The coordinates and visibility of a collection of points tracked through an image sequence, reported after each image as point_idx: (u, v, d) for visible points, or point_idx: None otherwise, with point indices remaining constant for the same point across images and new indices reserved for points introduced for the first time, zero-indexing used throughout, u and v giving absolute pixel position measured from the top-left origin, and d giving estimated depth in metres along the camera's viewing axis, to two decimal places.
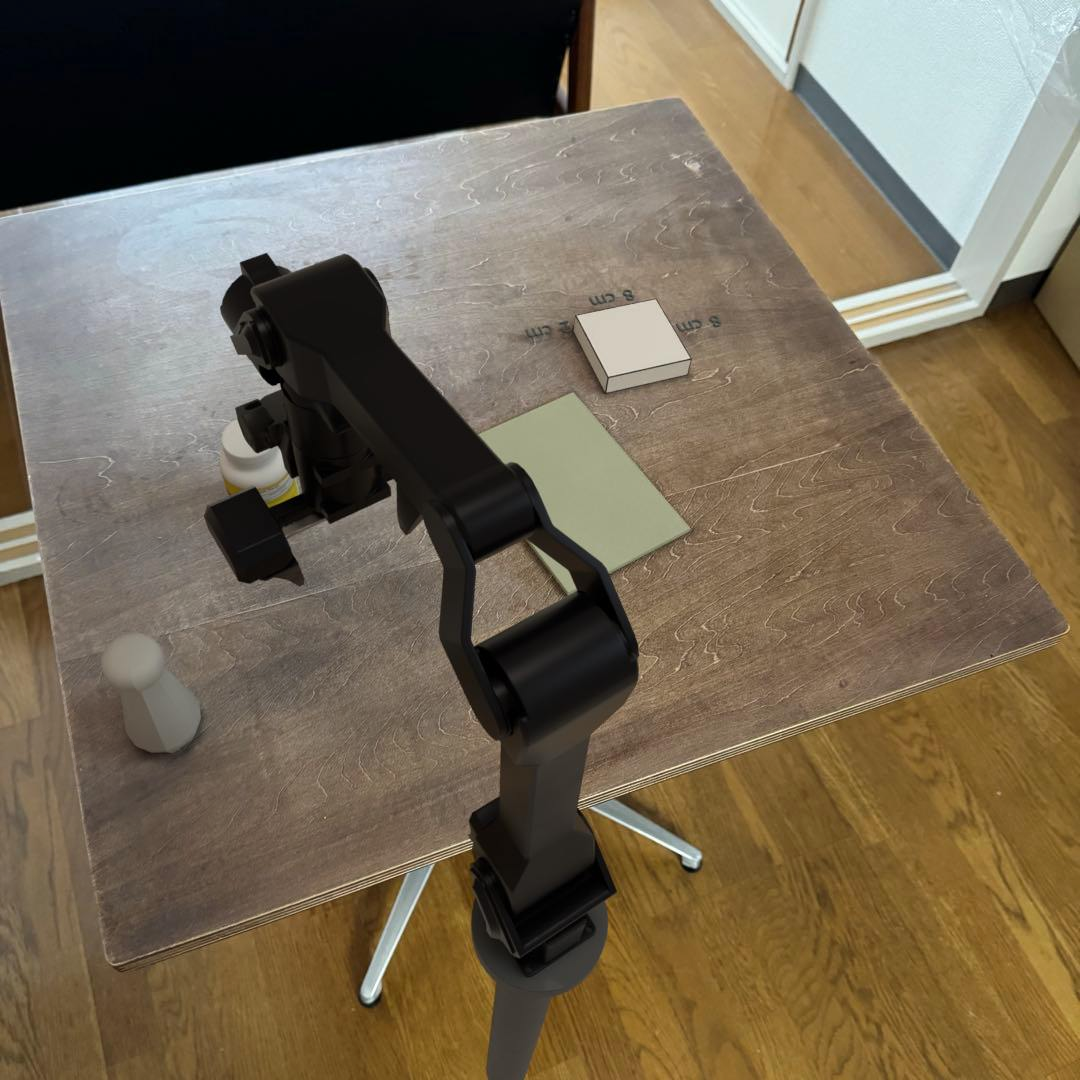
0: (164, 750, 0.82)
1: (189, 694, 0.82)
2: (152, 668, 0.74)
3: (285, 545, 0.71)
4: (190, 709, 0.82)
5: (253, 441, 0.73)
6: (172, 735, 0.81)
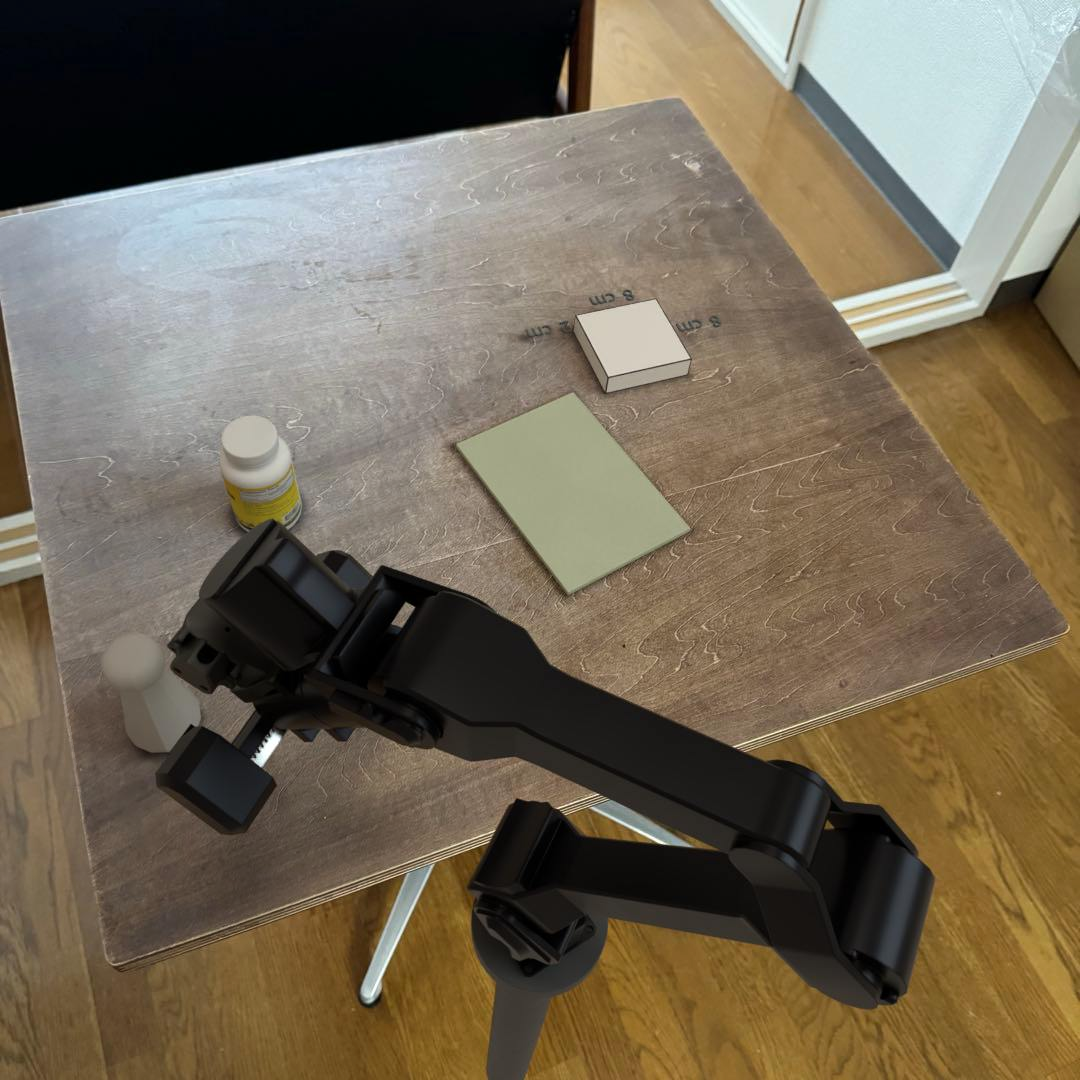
0: (164, 750, 0.82)
1: (189, 694, 0.82)
2: (152, 668, 0.74)
3: (273, 787, 0.64)
4: (190, 709, 0.82)
5: (212, 690, 0.60)
6: (172, 735, 0.81)
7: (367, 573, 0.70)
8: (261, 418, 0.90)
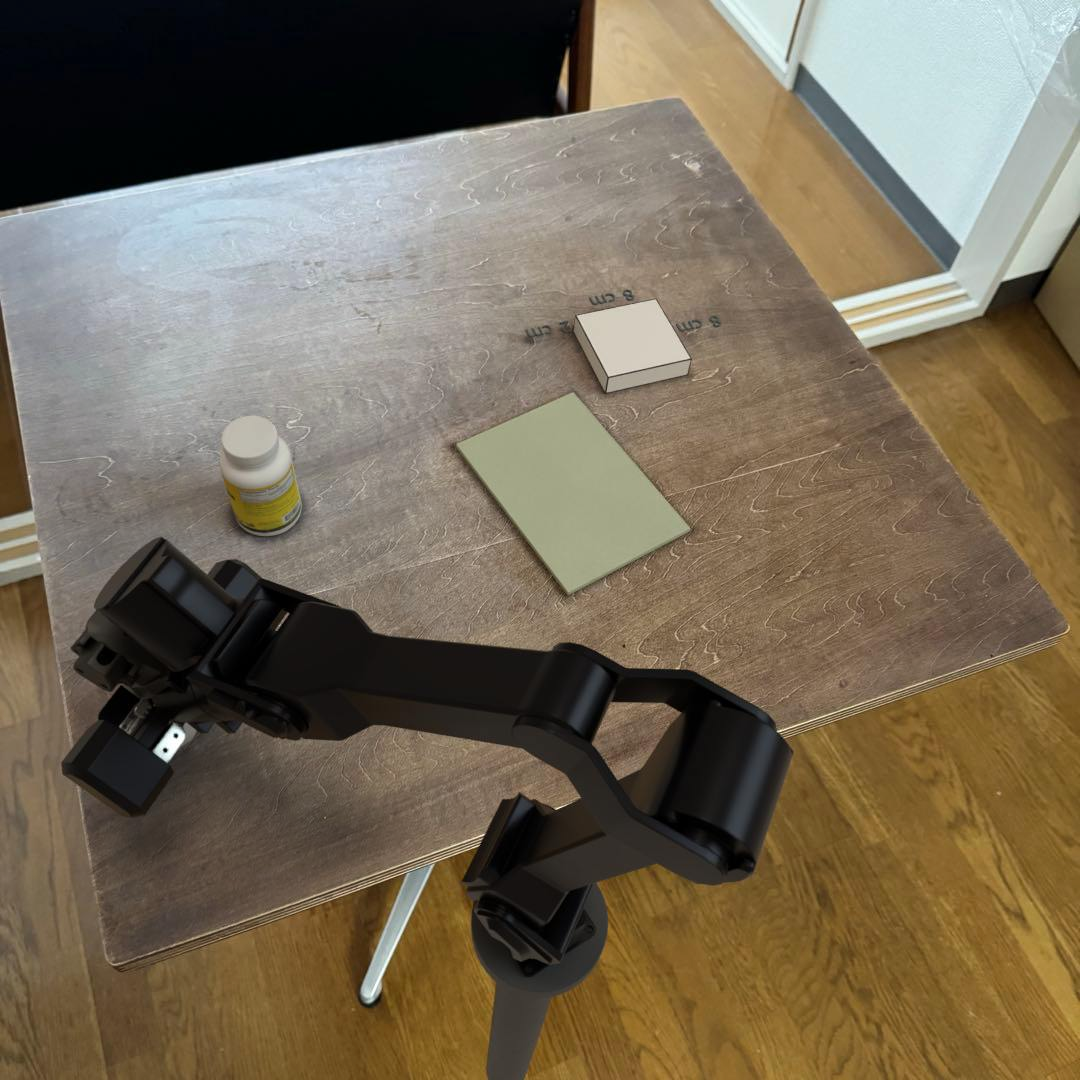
0: None
1: None
2: None
3: (171, 774, 0.71)
4: None
5: (111, 688, 0.67)
6: None
7: None
8: (261, 418, 0.90)
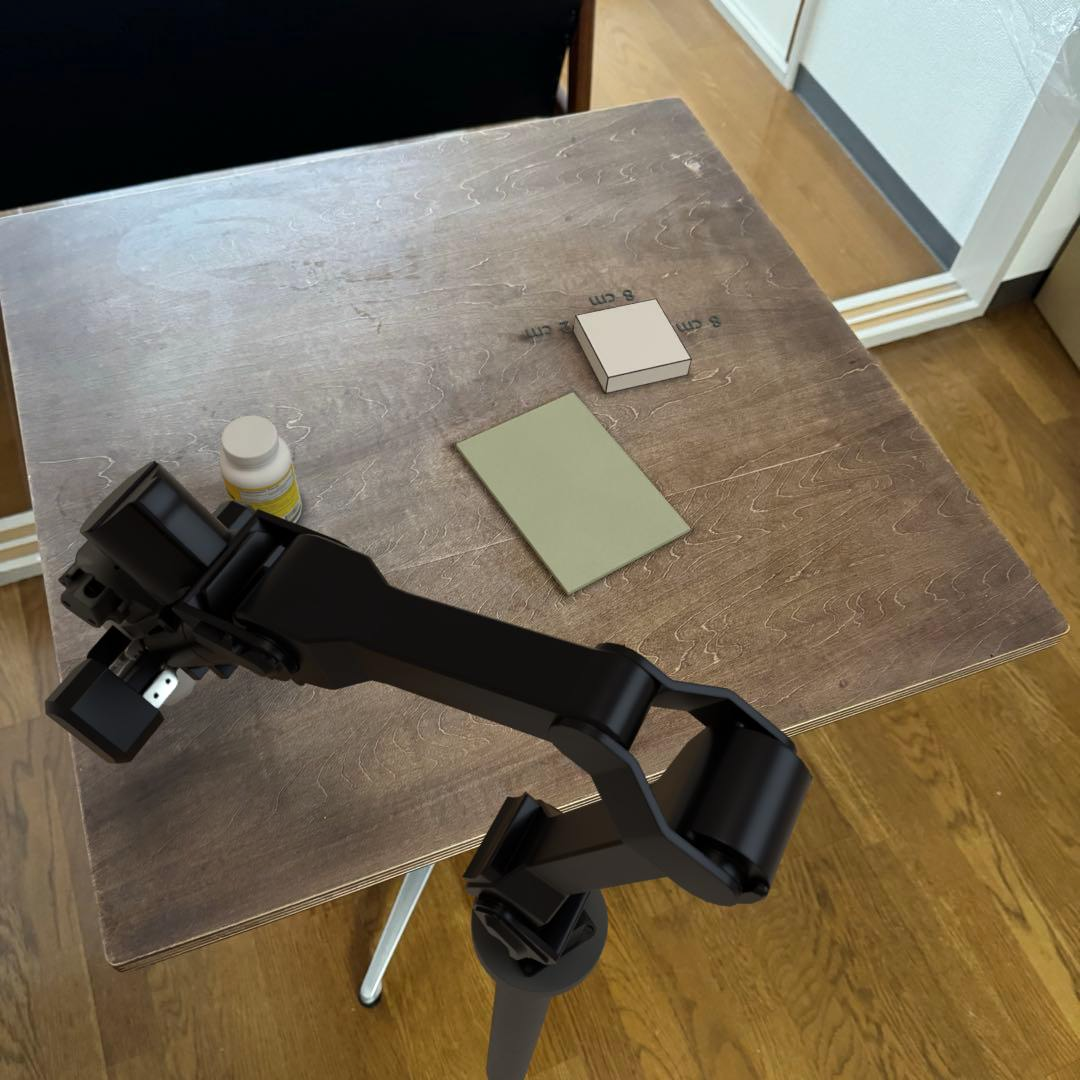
0: None
1: None
2: None
3: (160, 720, 0.67)
4: None
5: (99, 624, 0.63)
6: None
7: None
8: (261, 418, 0.90)
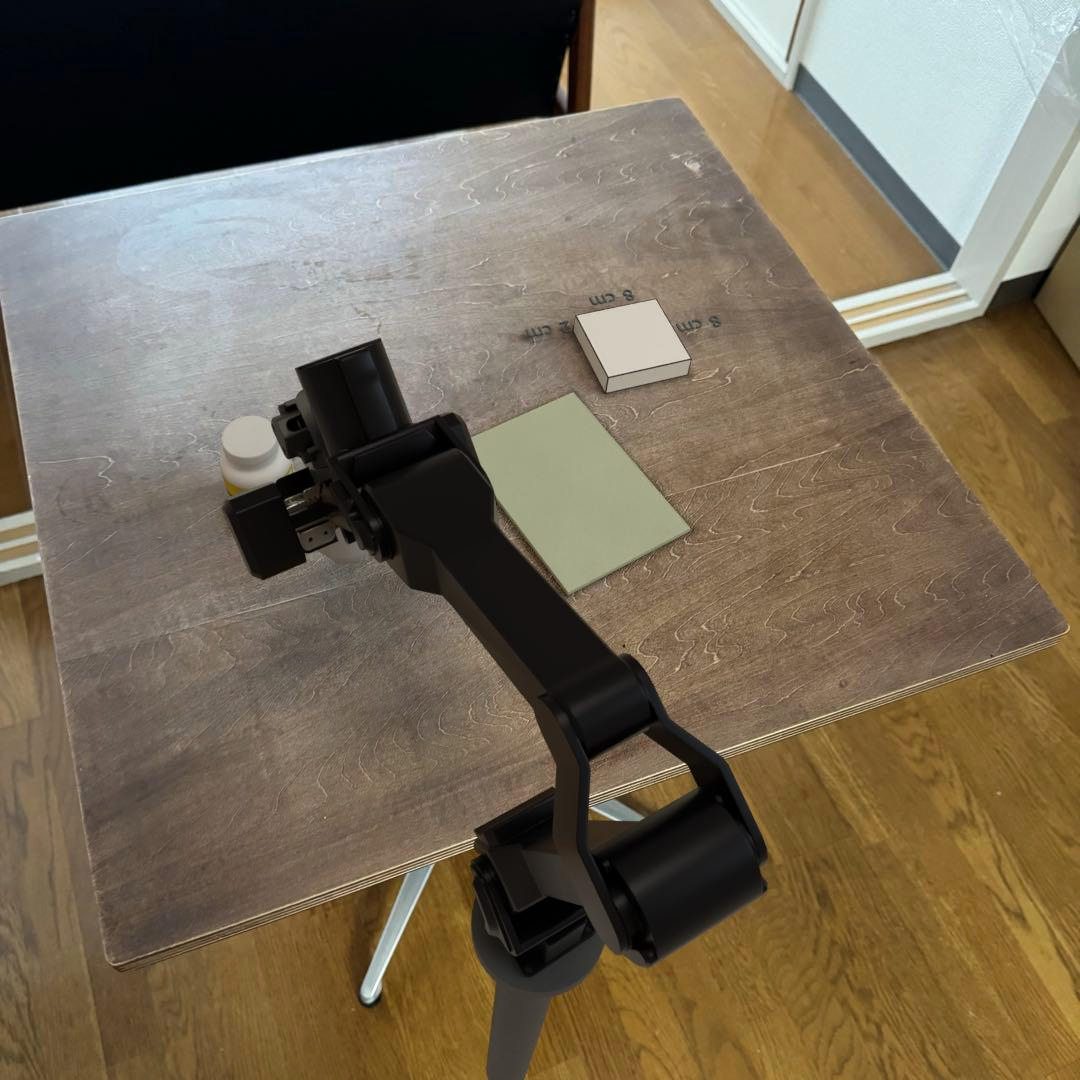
0: (328, 555, 0.86)
1: None
2: None
3: (302, 560, 0.75)
4: None
5: (288, 455, 0.72)
6: (339, 545, 0.85)
7: (471, 445, 0.79)
8: (261, 418, 0.90)
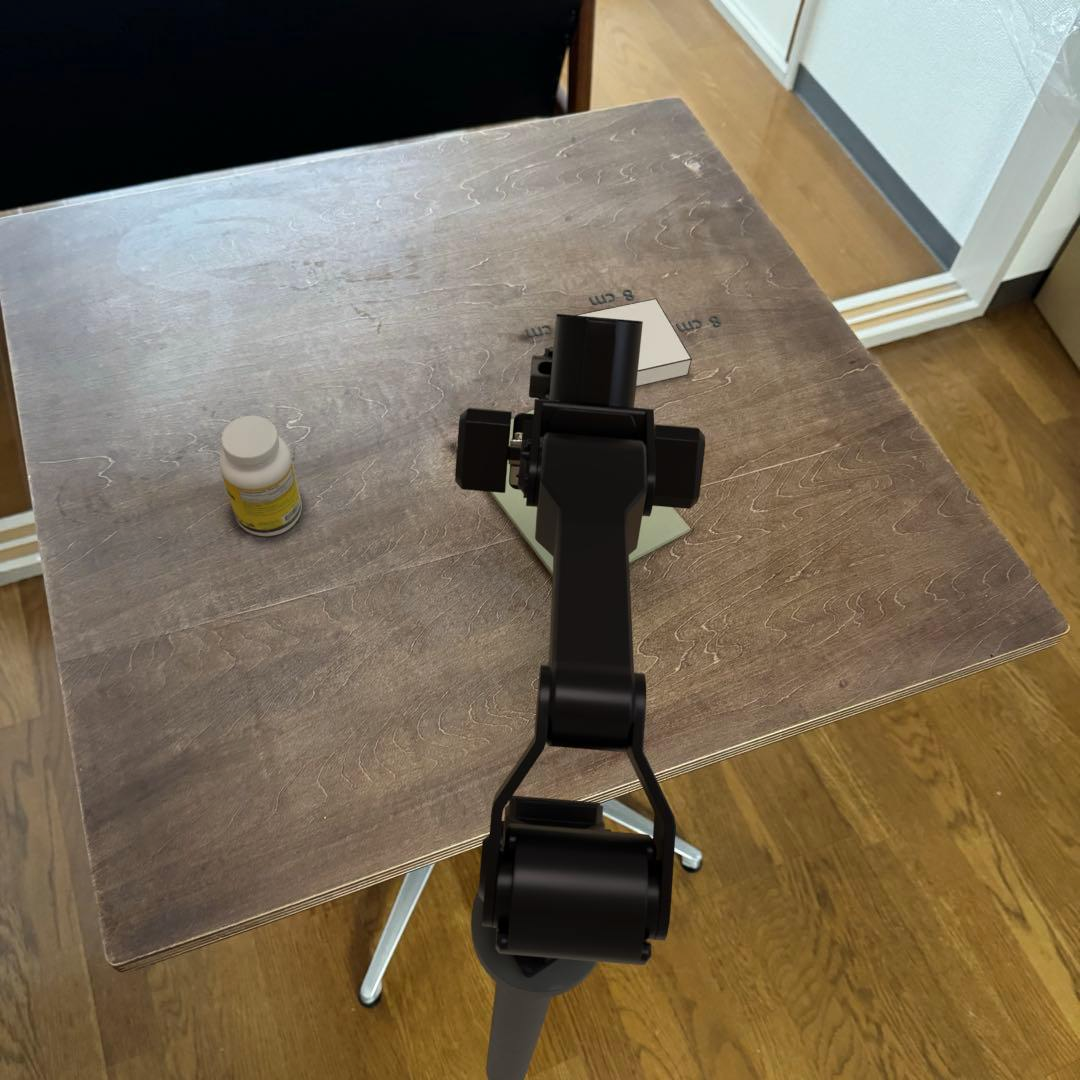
0: None
1: None
2: None
3: (501, 490, 0.80)
4: None
5: (529, 393, 0.76)
6: None
7: (699, 466, 0.79)
8: (261, 418, 0.90)
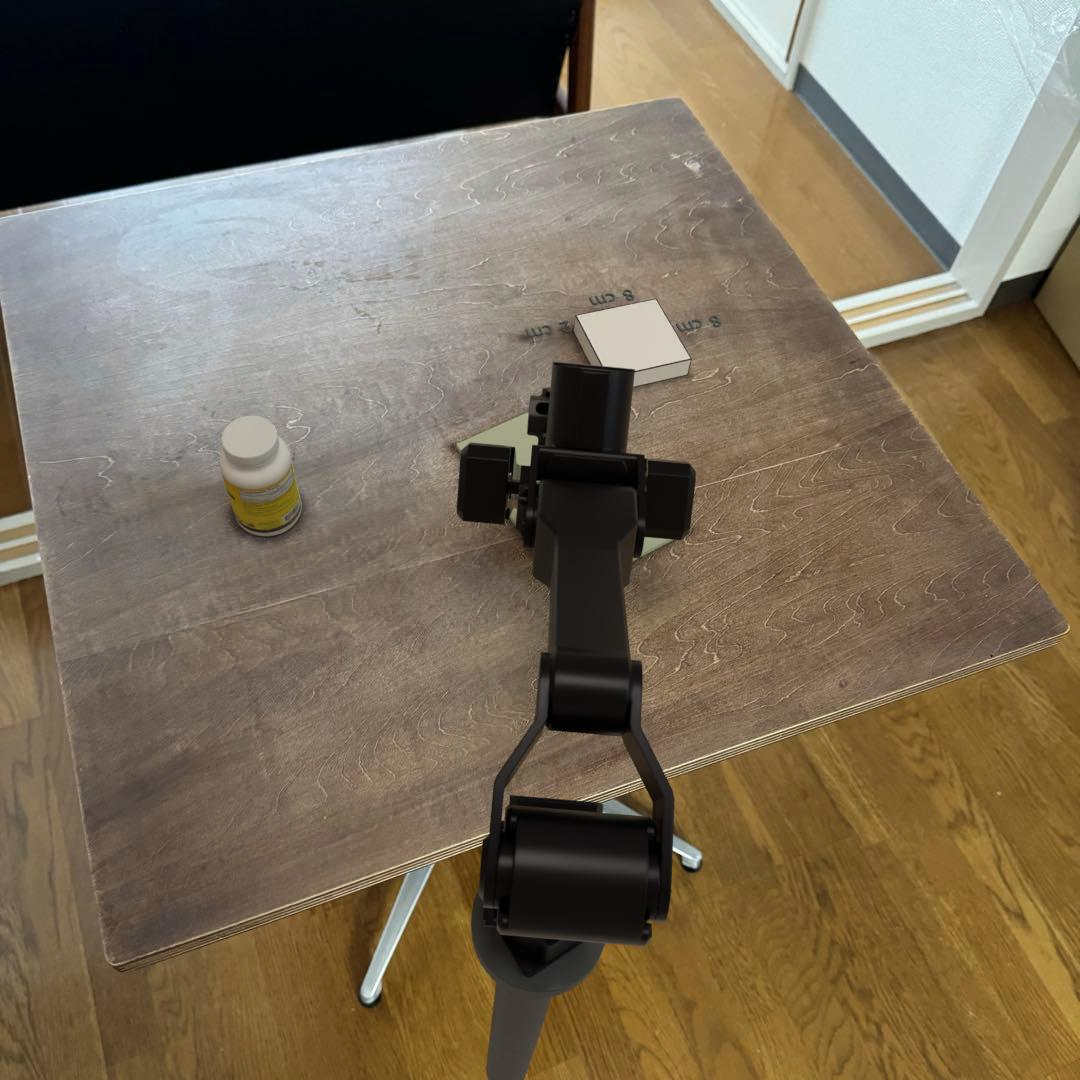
0: None
1: None
2: None
3: (501, 522, 0.83)
4: None
5: (527, 431, 0.80)
6: None
7: (690, 500, 0.83)
8: (261, 418, 0.90)
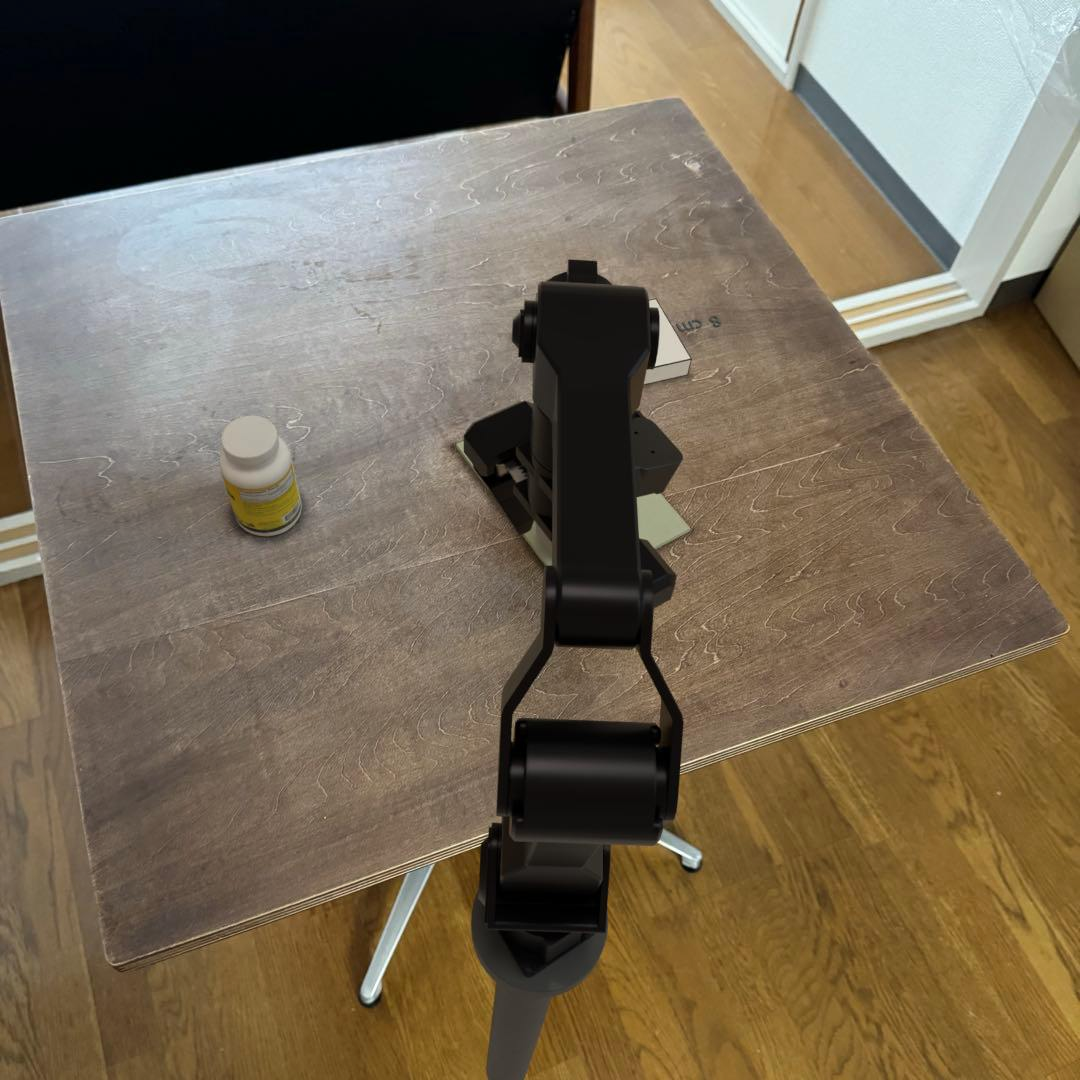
0: (541, 540, 0.94)
1: None
2: None
3: (488, 461, 0.74)
4: None
5: None
6: None
7: None
8: (261, 418, 0.90)
